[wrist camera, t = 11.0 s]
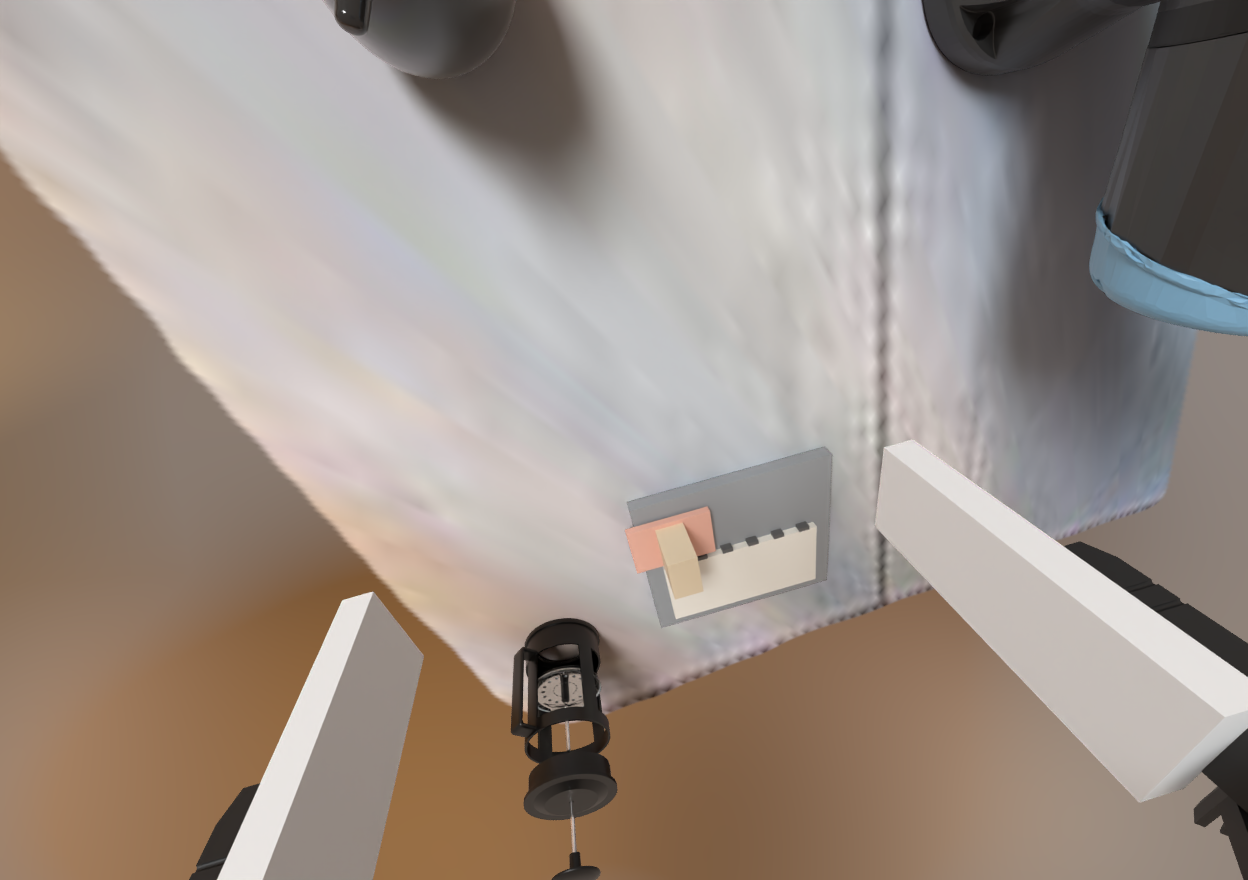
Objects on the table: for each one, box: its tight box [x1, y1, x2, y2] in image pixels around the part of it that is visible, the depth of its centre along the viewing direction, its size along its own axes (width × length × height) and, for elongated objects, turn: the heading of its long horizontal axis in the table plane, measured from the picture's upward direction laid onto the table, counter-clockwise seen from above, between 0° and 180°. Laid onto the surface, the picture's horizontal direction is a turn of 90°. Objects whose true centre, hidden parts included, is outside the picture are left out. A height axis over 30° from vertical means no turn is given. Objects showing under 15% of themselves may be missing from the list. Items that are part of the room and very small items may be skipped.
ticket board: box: [627, 447, 832, 628], centre depth 52 cm, size 22×20×2 cm
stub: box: [625, 506, 716, 600], centre depth 46 cm, size 9×6×6 cm, turn 102°
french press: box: [511, 618, 617, 880], centre depth 48 cm, size 12×9×23 cm
